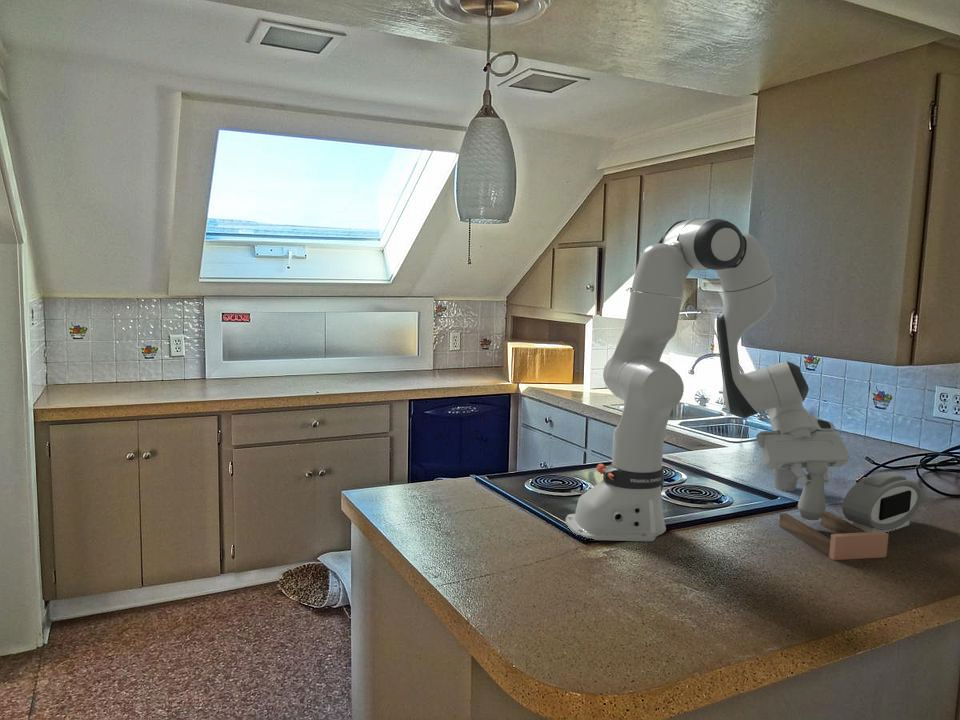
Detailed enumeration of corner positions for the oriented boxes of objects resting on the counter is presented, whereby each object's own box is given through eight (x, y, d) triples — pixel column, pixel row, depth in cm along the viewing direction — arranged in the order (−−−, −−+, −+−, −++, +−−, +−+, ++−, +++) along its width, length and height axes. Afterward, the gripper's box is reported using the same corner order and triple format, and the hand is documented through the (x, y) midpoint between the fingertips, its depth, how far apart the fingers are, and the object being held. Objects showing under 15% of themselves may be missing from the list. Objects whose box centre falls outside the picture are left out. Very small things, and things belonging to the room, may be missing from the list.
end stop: (833, 560, 152) (835, 536, 151) (829, 557, 153) (831, 534, 152) (886, 557, 154) (888, 534, 153) (881, 554, 155) (883, 531, 155)
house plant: (741, 485, 201) (746, 427, 198) (767, 476, 210) (771, 420, 208) (793, 499, 190) (798, 437, 188) (817, 489, 199) (822, 429, 197)
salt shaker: (827, 523, 166) (834, 467, 163) (800, 520, 166) (807, 465, 164) (819, 513, 171) (826, 459, 169) (793, 510, 172) (800, 457, 170)
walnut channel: (829, 557, 153) (830, 543, 153) (779, 526, 171) (780, 513, 170) (881, 554, 155) (882, 540, 155) (826, 523, 173) (827, 511, 172)
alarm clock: (866, 542, 162) (871, 486, 160) (839, 533, 167) (844, 479, 165) (920, 523, 174) (925, 471, 173) (893, 515, 179) (899, 464, 178)
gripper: (760, 424, 170) (781, 477, 162) (839, 422, 174) (863, 475, 166) (748, 438, 175) (768, 491, 167) (825, 436, 179) (848, 488, 171)
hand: (816, 483), depth 167 cm, fingers closed on salt shaker, 3 cm apart
